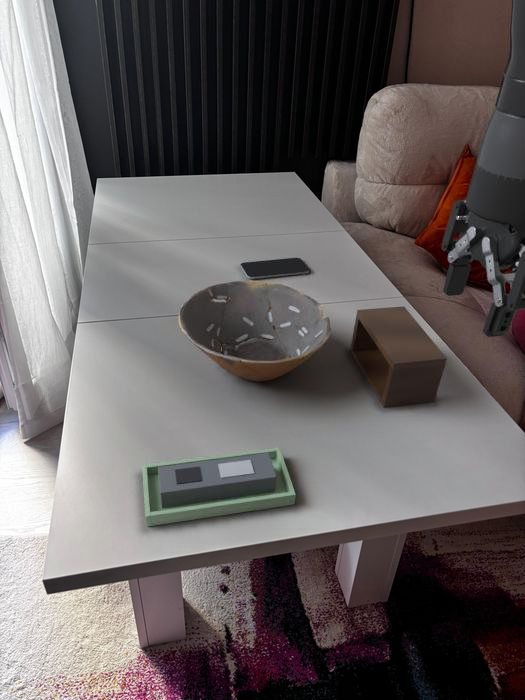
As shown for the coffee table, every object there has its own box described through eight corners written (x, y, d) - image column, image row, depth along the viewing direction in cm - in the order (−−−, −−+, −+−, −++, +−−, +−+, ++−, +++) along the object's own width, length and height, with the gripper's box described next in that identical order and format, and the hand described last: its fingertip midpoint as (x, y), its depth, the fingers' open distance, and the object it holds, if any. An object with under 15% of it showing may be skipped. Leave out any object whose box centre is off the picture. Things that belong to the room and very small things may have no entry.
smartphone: (311, 270, 126) (248, 277, 122) (310, 273, 127) (248, 280, 122) (299, 257, 132) (239, 262, 127) (299, 259, 132) (239, 265, 128)
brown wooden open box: (433, 402, 92) (447, 358, 86) (383, 407, 90) (394, 363, 85) (394, 347, 104) (404, 306, 99) (349, 351, 102) (357, 309, 97)
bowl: (157, 347, 100) (154, 299, 94) (270, 312, 112) (273, 268, 106) (228, 431, 83) (229, 379, 78) (352, 380, 95) (361, 332, 89)
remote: (267, 467, 77) (269, 451, 75) (275, 492, 74) (276, 476, 72) (159, 482, 74) (157, 466, 72) (161, 508, 71) (160, 492, 69)
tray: (278, 457, 80) (279, 447, 78) (294, 504, 73) (295, 494, 72) (143, 474, 76) (142, 464, 74) (146, 526, 69) (145, 516, 68)
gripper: (608, 189, 46) (541, 347, 56) (510, 142, 57) (468, 280, 67) (530, 191, 45) (474, 353, 54) (445, 142, 56) (411, 283, 65)
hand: (471, 313), depth 60 cm, fingers open, 8 cm apart
